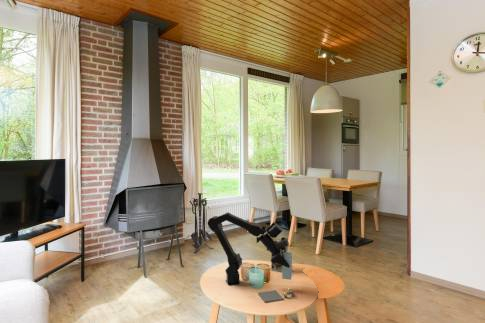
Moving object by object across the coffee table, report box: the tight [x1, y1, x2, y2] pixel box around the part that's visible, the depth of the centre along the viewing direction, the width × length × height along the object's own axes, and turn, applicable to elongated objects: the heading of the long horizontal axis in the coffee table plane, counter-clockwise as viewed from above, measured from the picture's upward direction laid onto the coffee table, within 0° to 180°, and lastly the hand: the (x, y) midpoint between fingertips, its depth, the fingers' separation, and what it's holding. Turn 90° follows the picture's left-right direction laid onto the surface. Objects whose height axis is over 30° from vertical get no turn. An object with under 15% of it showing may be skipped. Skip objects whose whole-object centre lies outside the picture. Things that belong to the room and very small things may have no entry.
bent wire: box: [283, 287, 295, 299], centre depth 154 cm, size 6×5×3 cm
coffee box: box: [270, 246, 289, 273], centre depth 189 cm, size 9×6×16 cm
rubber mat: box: [257, 289, 285, 303], centre depth 153 cm, size 10×10×1 cm
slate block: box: [281, 251, 293, 280], centre depth 162 cm, size 5×5×13 cm
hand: (289, 265), depth 161 cm, fingers closed on slate block, 5 cm apart
